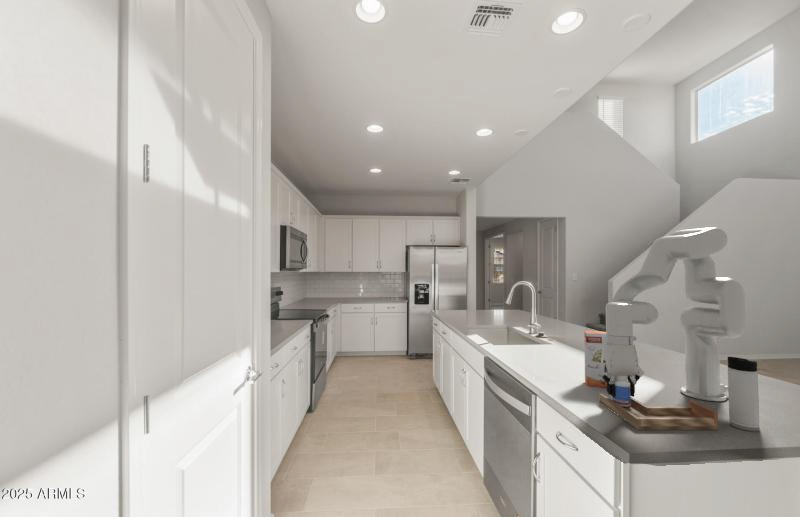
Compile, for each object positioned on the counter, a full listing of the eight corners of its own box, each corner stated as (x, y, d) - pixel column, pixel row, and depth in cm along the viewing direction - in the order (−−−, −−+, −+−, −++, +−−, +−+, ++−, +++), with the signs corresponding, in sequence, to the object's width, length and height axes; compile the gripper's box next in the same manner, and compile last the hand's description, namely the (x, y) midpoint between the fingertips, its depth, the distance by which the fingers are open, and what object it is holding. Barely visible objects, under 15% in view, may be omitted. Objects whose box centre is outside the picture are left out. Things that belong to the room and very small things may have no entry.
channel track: (666, 402, 120) (666, 388, 120) (718, 429, 100) (717, 412, 100) (599, 402, 121) (599, 388, 121) (637, 429, 101) (637, 412, 101)
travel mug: (722, 422, 105) (720, 354, 105) (742, 421, 105) (740, 354, 106) (744, 432, 99) (742, 360, 99) (766, 431, 99) (763, 359, 100)
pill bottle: (634, 407, 113) (633, 377, 113) (615, 406, 114) (614, 376, 114) (626, 401, 118) (625, 372, 119) (609, 400, 119) (608, 371, 120)
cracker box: (586, 386, 137) (585, 332, 138) (584, 381, 143) (583, 329, 143) (628, 390, 132) (627, 334, 132) (625, 385, 138) (623, 332, 138)
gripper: (638, 337, 120) (639, 391, 120) (587, 338, 121) (588, 391, 120) (653, 342, 113) (655, 399, 112) (599, 342, 113) (600, 399, 113)
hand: (620, 394), depth 116 cm, fingers closed on pill bottle, 5 cm apart
